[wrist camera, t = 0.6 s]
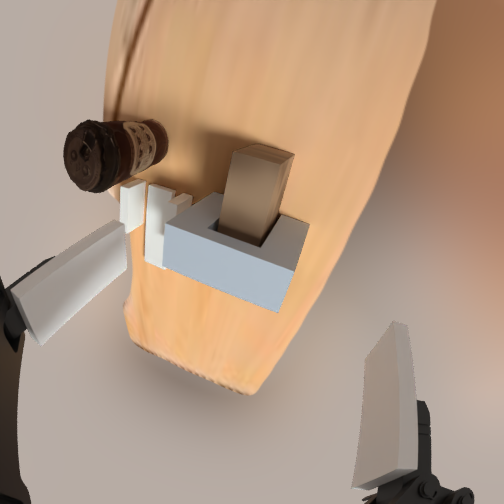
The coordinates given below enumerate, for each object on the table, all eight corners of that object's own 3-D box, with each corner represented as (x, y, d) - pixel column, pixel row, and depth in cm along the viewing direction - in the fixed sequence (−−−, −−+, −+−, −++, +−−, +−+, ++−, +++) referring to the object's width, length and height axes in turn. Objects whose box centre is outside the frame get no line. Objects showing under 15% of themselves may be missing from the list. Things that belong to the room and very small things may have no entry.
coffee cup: (173, 105, 31) (100, 109, 20) (182, 166, 35) (115, 193, 24) (125, 120, 34) (53, 133, 23) (134, 174, 37) (67, 201, 26)
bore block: (214, 191, 35) (165, 223, 25) (309, 224, 33) (294, 271, 24) (207, 225, 38) (162, 265, 28) (297, 258, 36) (277, 313, 26)
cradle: (138, 178, 38) (120, 186, 34) (192, 195, 36) (177, 205, 33) (135, 252, 44) (120, 263, 41) (182, 273, 43) (169, 286, 39)
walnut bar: (257, 143, 31) (232, 151, 24) (294, 154, 30) (280, 164, 23) (234, 245, 38) (209, 275, 31) (265, 256, 37) (246, 289, 30)
